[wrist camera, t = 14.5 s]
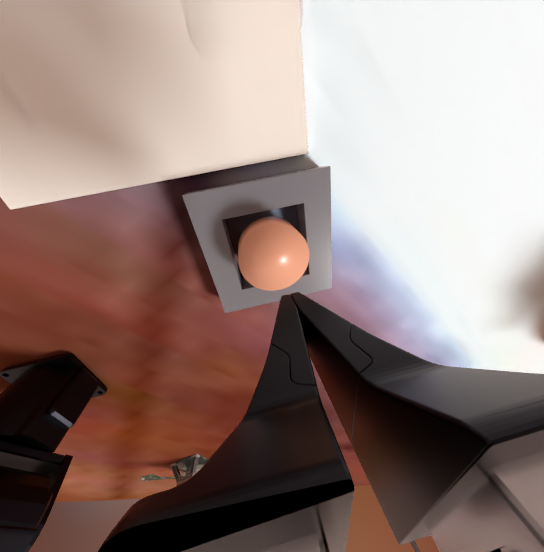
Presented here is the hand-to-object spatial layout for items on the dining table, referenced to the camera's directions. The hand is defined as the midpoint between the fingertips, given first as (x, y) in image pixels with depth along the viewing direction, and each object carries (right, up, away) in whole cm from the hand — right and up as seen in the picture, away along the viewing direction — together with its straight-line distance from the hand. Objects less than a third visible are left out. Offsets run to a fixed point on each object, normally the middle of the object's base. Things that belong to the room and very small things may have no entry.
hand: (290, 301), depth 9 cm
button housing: (-1, +4, +8) cm, 9 cm away
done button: (-1, +3, +6) cm, 7 cm away
